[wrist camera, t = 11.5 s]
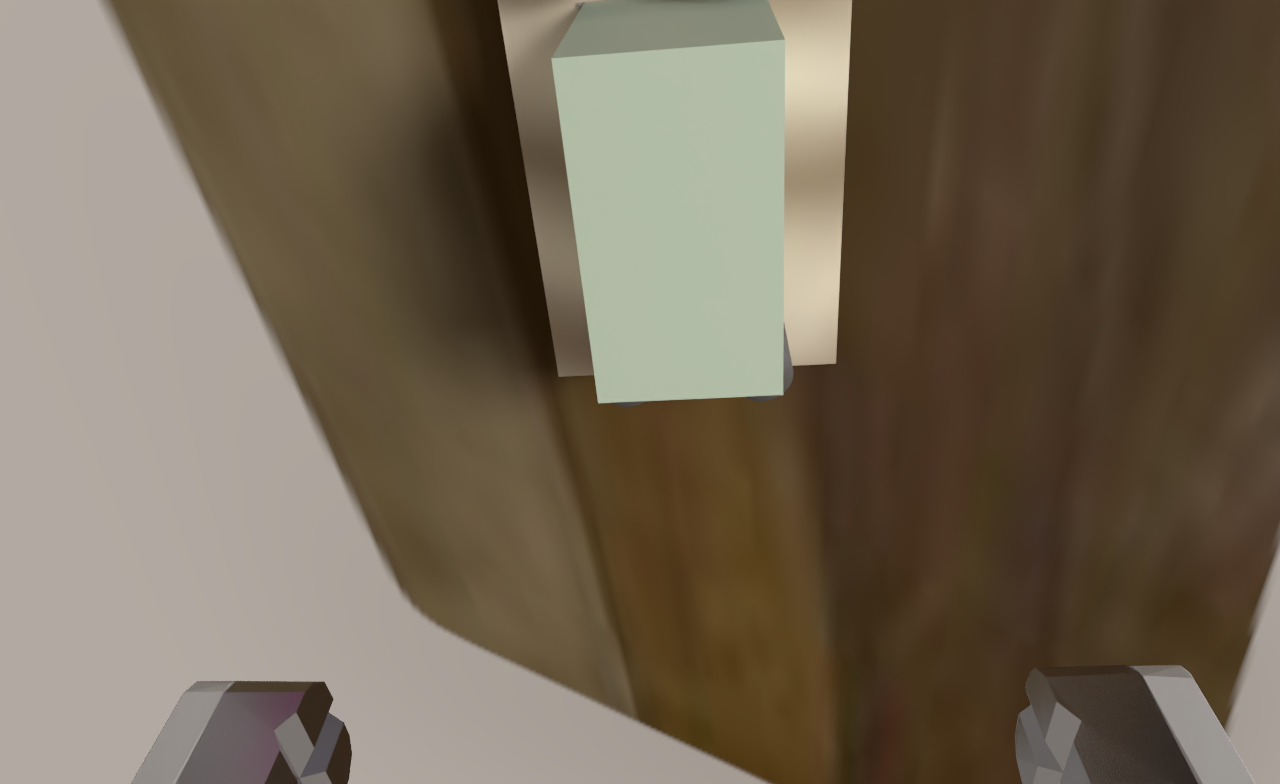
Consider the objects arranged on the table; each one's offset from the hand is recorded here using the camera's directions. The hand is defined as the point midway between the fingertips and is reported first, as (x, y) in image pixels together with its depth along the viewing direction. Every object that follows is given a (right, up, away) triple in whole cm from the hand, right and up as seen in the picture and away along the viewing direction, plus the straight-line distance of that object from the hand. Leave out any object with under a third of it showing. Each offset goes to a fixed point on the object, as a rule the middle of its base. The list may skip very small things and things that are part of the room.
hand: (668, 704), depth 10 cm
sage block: (+1, +11, +17) cm, 20 cm away
